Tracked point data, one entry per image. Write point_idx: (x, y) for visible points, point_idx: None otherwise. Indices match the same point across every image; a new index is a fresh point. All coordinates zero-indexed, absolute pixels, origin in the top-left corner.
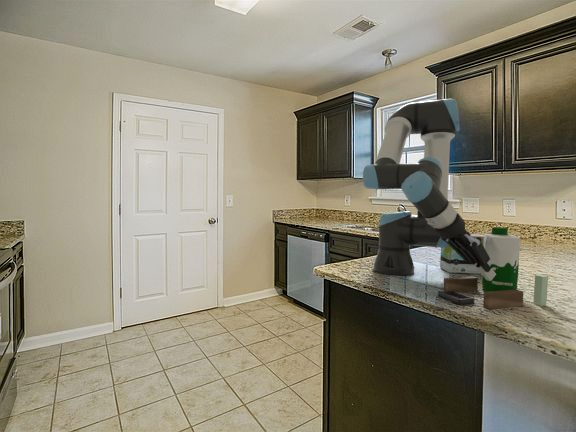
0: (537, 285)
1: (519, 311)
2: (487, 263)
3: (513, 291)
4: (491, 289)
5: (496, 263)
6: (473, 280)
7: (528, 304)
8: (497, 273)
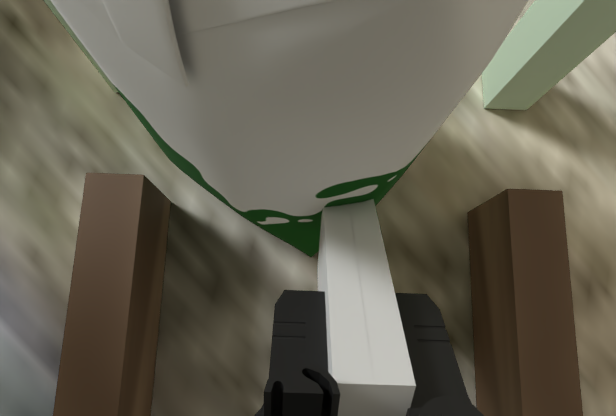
0: (564, 46)
1: (589, 323)
2: (460, 376)
3: (552, 265)
4: None
5: (393, 166)
6: (145, 227)
7: (490, 149)
8: (384, 191)
